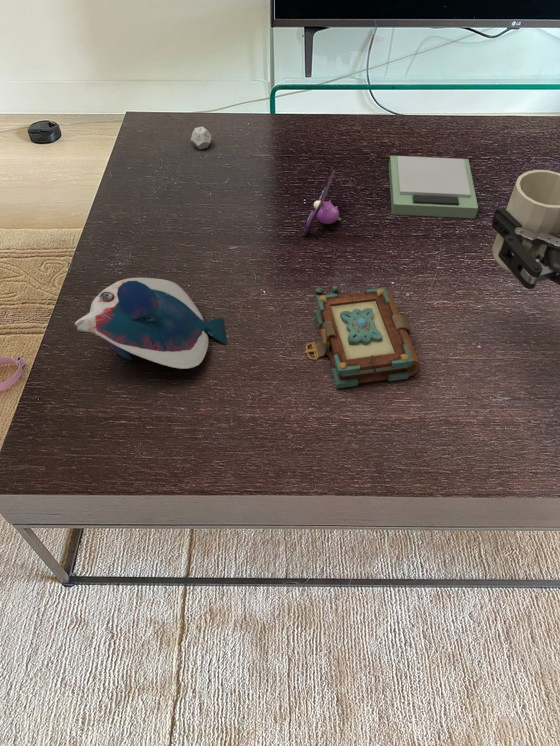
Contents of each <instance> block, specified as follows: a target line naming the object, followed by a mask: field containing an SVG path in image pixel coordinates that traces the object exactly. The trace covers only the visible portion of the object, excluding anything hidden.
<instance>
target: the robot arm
mask: <svg viewBox="0 0 560 746" xmlns="http://www.w3.org/2000/svg"><path fill="white" fill-rule="evenodd" d="M491 226H492V229H493V230H494V231H496V233H497V234H498V233H499V234H500V235H501V236H502V237H503V238H504V241H503V244H502V247H501V250H500V251H499V254H498V256H499V258H500V259H501V260H502V261H503V263H504V264H505V265H506V266H507V267H508V268H509V270H510V271H511V272H512V273H511V272H510V273H511V274H512V275H513V276H515V278H516V279H517V280H518V281H519V282H520V284H521V285H522V286H523V287H524V288H525V289H527V290H533V289H535V287H536V285H537V283H539V282H542V281H546V280H549V281H551V282H553V283H555V284H556V285H559V286H560V236H556V237H555V236H552V235H550V234H547V233H545V232H540V233H538V234H537V233H534V232H532V231H529V230H527V229H524V228H522V225H521V224H520V223H519V222H518V221H517V220H516V219H515V218H514V217H513V216H512V215H511V214H510V213H509V212H508V211H507V210H506V208H505V207H500V208H497V209H495V211H494V214H493V217H492V219H491ZM523 240H525V241H528V242H530V243H531V244H532V248H530V247H528V246H525V245H523V244H522V242H523ZM542 245H547V247H546V250H545V252H544V257H543V256H541V255H540V254H539V250H540V248H541V246H542ZM512 253H513V255H514V256H513V255H512Z"/></svg>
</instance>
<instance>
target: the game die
mask: <svg viewBox="0 0 560 746" xmlns="http://www.w3.org/2000/svg"><path fill="white" fill-rule="evenodd" d="M212 137H213V136H212V134H211V132H209V130H208V129H207V128H205V127H204V126H198V127H194V129H193V130H192V132H191V137H190V142H192V144H193V145H194V146H195V147H196V148H198V150H204V149H208V147H209V146H210V145H211V141H212Z"/></svg>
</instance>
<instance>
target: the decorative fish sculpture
mask: <svg viewBox="0 0 560 746" xmlns="http://www.w3.org/2000/svg"><path fill="white" fill-rule="evenodd" d="M89 310H90V311H89V312H88V313H87V314H86V315H83V316H82V317H80V318H79V319H77V320H76V321H75V322H74V325H75V327H76V330H77V331H80V332H85V333H93V334H95V335H96V336H99V337H100V338H102V339H104V340H105V341H106V343H107V344H108V345H109V347H110V348H111V349H112V350H113V351H114V352H115V353H116V354H117V355H119V356H120V357H122V358H124V359H125V360H128V361H132V360H133V357H132V356H131V355H130V354H132V355H134V356H137V357H139V358H141V359H145V360H148V361H150V362H153V363H157V364H159V365H162V366H167V367H170V368H174V369H175V368H176V369H181V370H182V369H192V368H195V367H198V366H199V365H200V364H202V362H203V360H204V358H205V356H206V354H207V351H208V349H209V348H208V347H209V336H211V338H212V339H214V340H216V341H217V342H219V343H221V344H223V345H225V346H226V345H227V344H228V339H227V333H226V326H225V325H226V324H225V320H224V318H223V317H218V318H213V319H210V320H207V321H206V320H204V317H203V315H202V314H201V312H200V310H199V309H198V307H197V306H196V304H195V303H194V301H193V300H192V299H191V297H190V296H189V295H188V294H187V292H186V291H185V290H184V289H183V288H182V287H181V286H180V285H179V284H178V283H176V282H174V281H171V280H167V279H162V278H156V277H155V278H153V277H130V278H124V279H121V280H117V281H116V282H114V283H112V284H111V285H108V286H107V287H106V288H104V289H103V290H101V292H100V293H98V295H97V296H96V297H94V299H93V300H92V302H91V304H90V309H89Z"/></svg>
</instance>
